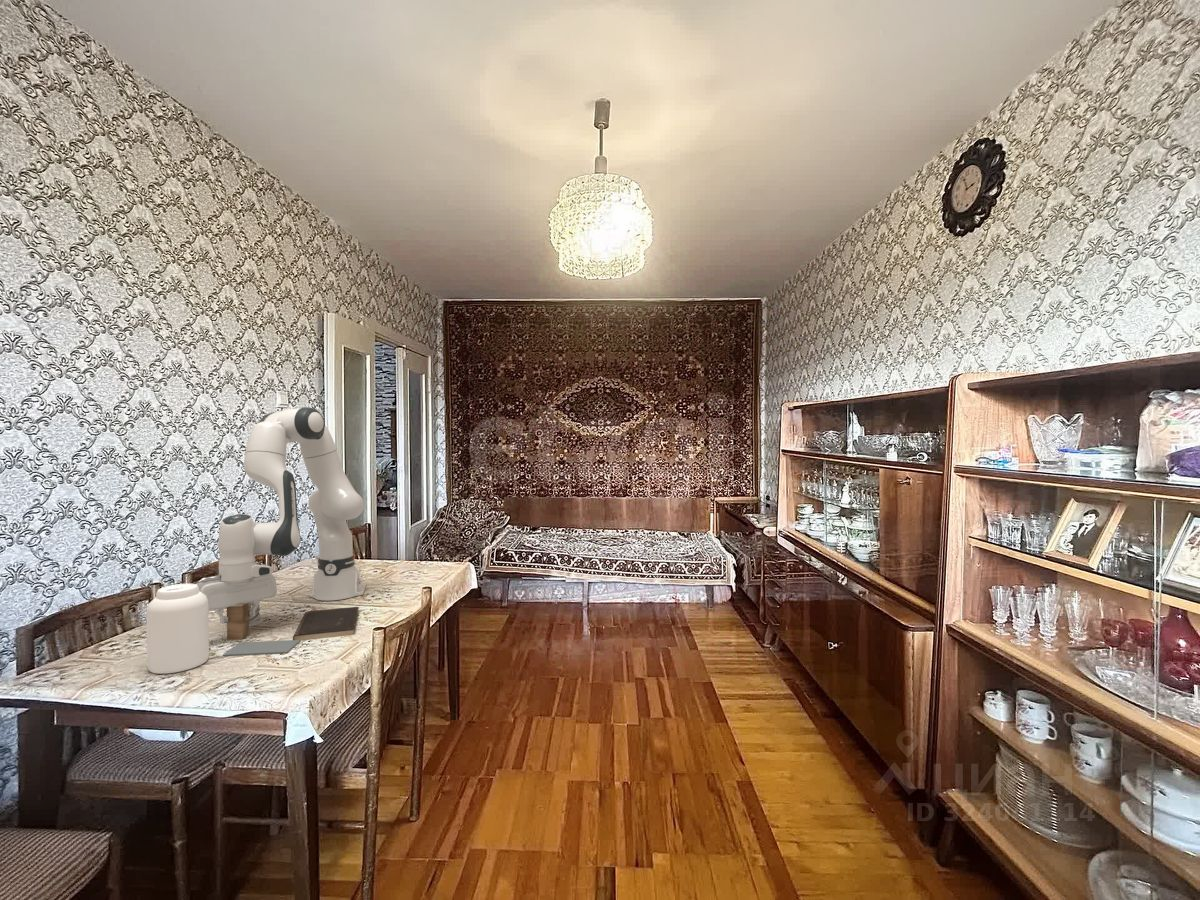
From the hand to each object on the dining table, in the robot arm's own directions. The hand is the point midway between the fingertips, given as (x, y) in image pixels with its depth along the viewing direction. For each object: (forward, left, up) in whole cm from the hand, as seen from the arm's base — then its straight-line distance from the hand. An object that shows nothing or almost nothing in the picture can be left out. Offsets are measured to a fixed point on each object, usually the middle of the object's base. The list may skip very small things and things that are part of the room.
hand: (237, 619), depth 162 cm
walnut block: (0, 0, -5) cm, 5 cm away
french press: (-14, -4, -5) cm, 15 cm away
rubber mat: (+10, +11, -5) cm, 16 cm away
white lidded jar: (+19, -5, -5) cm, 20 cm away
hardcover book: (-8, +22, -6) cm, 24 cm away
